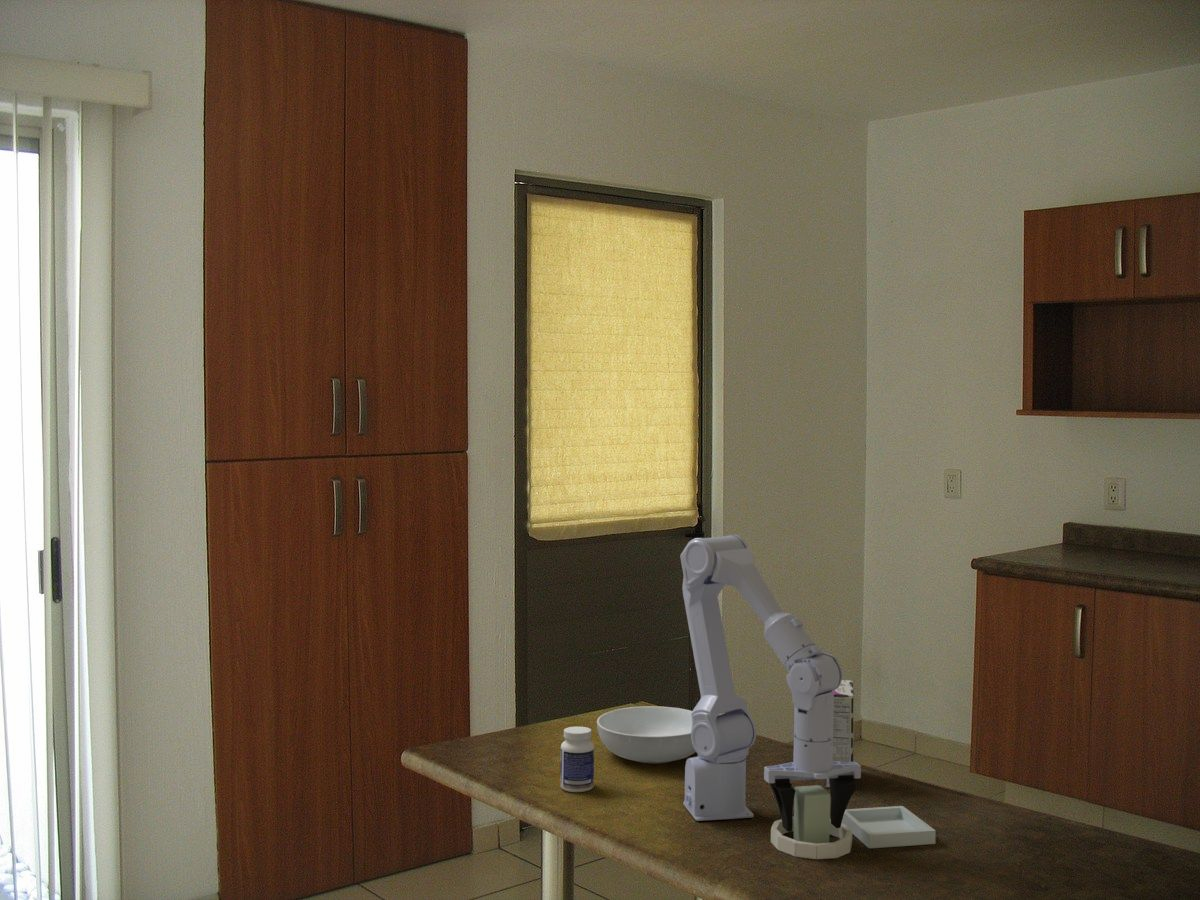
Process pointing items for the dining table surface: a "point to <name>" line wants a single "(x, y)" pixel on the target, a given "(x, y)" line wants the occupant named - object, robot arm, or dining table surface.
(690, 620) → the robot arm
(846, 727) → the candy bar box
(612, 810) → the dining table surface
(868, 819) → the tray
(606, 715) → the serving bowl
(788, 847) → the collar
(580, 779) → the pill bottle
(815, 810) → the peg
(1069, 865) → the dining table surface
